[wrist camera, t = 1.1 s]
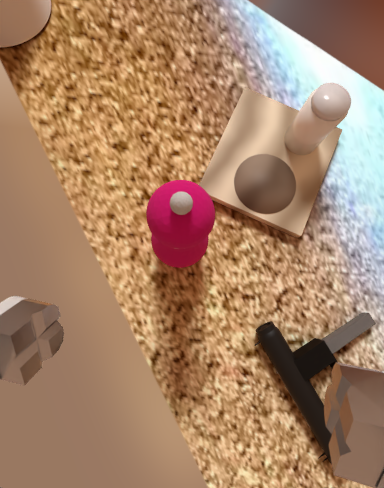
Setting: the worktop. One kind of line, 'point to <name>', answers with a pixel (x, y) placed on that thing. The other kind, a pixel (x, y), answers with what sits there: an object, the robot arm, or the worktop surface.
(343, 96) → the salt shaker
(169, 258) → the pepper mill
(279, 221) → the condiment board
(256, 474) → the worktop surface
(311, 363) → the door handle
